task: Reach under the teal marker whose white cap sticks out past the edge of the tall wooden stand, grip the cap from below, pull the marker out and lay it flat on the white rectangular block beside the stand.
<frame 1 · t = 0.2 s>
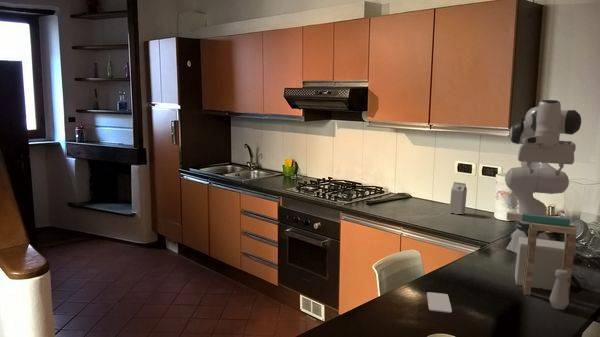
hand: (544, 174, 196), 40 cm above the table, tool pointing down, fingers open, 8 cm apart
milk carton: (457, 214, 295), on the table
white rectangular block: (538, 283, 186), on the table
salt shaker: (558, 307, 165), on the table
wooden stand: (544, 294, 176), on the table
marker: (537, 222, 173), point 26 cm above the table, touching wooden stand
smartphone: (438, 303, 166), on the table
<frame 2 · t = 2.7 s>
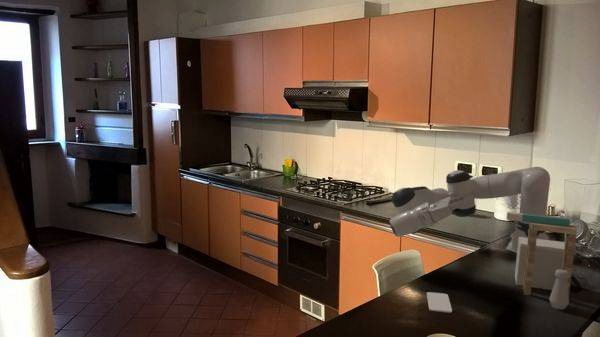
hand: (462, 199, 185), 31 cm above the table, tool pointing upward, fingers open, 8 cm apart
nothing on the table moved.
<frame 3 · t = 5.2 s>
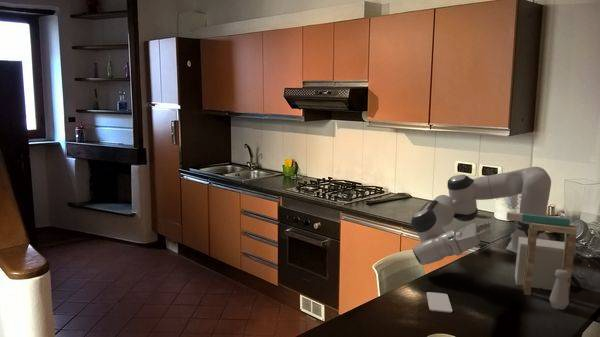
hand: (490, 227, 178), 22 cm above the table, tool pointing upward, fingers open, 8 cm apart
nothing on the table moved.
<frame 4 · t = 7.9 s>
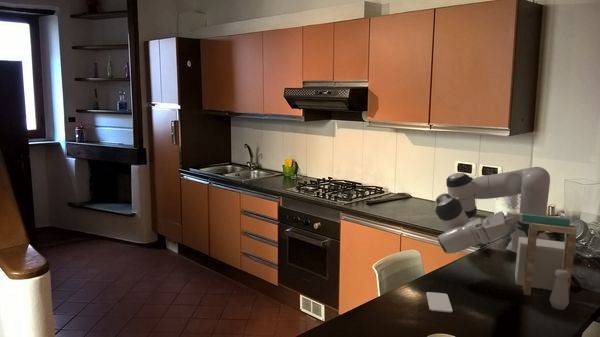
hand: (518, 215, 175), 28 cm above the table, tool pointing upward, fingers closed on marker, 2 cm apart
marker: (537, 222, 173), point 26 cm above the table, touching gripper, wooden stand
everything else where it was.
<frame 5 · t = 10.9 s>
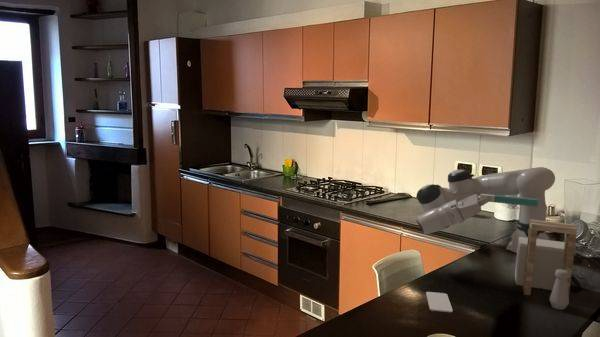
hand: (490, 197, 187), 32 cm above the table, tool pointing upward, fingers closed on marker, 2 cm apart
marker: (508, 203, 185), point 30 cm above the table, touching gripper
everything else where it was.
when the fingers open (19 cm above the table, at t = 14.2 s): marker drops 2 cm, resting on white rectangular block.
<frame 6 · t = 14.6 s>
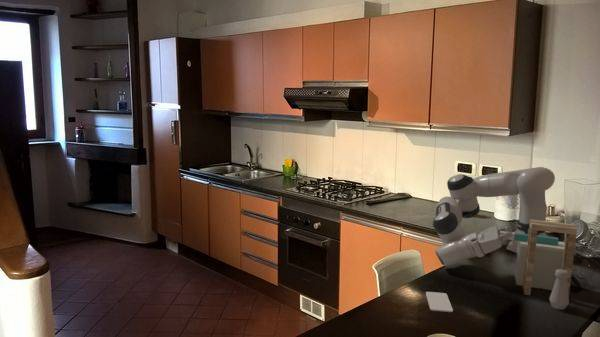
hand: (511, 230, 187), 19 cm above the table, tool pointing upward, fingers open, 7 cm apart
marker: (528, 241, 185), point 16 cm above the table, touching white rectangular block
everything else where it was.
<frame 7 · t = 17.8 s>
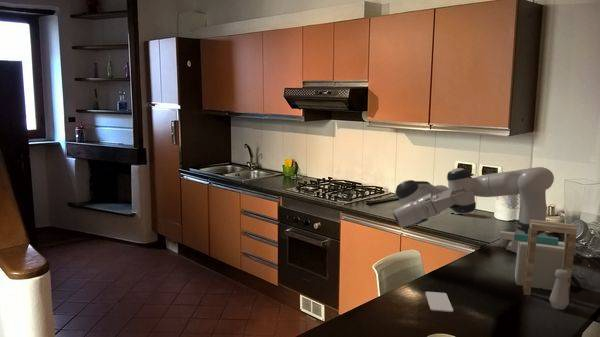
hand: (464, 191, 191), 33 cm above the table, tool pointing upward, fingers open, 8 cm apart
nothing on the table moved.
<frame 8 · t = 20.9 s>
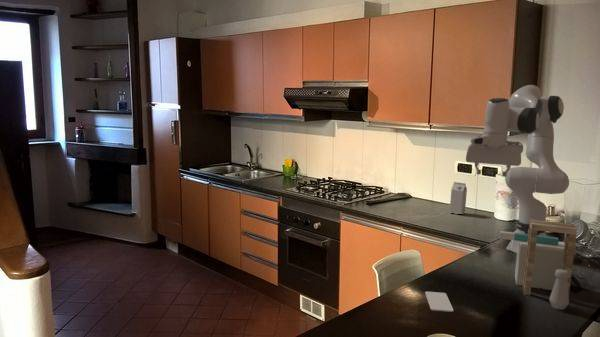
hand: (491, 175, 192), 39 cm above the table, tool pointing down, fingers open, 8 cm apart
nothing on the table moved.
at the end: marker inside the target area on the white rectangular block (2.6 cm from its centre), point 16.0 cm above the white rectangular block's base; marker tilted 0°; the gripper is holding nothing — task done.
